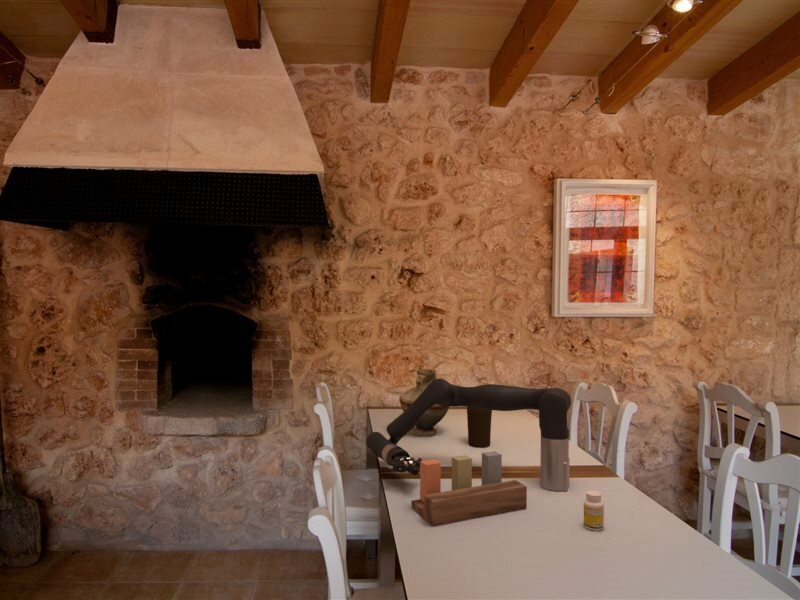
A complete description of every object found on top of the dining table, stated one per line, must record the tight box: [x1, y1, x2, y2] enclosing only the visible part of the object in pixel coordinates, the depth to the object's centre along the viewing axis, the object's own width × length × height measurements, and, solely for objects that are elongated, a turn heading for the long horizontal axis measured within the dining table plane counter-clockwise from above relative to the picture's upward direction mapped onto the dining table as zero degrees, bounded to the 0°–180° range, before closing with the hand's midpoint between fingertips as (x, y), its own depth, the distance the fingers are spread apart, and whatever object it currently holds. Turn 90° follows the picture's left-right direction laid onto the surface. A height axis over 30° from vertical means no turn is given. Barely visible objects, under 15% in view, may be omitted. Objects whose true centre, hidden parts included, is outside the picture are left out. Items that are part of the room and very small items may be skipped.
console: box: [411, 479, 528, 527], centre depth 170 cm, size 15×32×7 cm, turn 113°
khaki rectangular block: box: [451, 454, 473, 490], centre depth 174 cm, size 4×5×12 cm
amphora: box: [398, 368, 450, 437], centre depth 256 cm, size 24×24×30 cm
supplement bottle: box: [583, 490, 605, 531], centre depth 157 cm, size 5×5×10 cm
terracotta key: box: [419, 459, 442, 502], centre depth 170 cm, size 4×5×12 cm
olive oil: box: [466, 406, 493, 449], centre depth 238 cm, size 11×11×25 cm
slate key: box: [481, 450, 503, 485], centre depth 179 cm, size 4×5×12 cm
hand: (416, 472), depth 180 cm, fingers closed
